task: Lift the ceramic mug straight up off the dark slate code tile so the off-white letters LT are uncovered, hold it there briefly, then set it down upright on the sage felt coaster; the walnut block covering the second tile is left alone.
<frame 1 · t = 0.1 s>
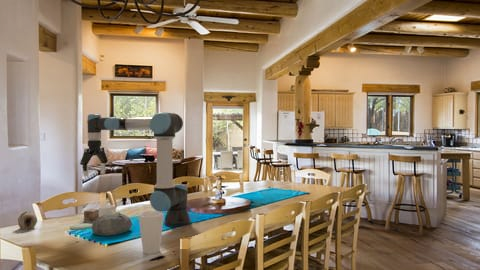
hand: (94, 175, 212), 28 cm above the table, fingers open, 13 cm apart
coaster: (81, 226, 199), on the table
code tile: (108, 225, 203), on the table
decorative stone: (112, 232, 190), on the table, touching code tile
walnut block: (91, 219, 215), resting on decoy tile
grey rounded ring: (28, 228, 197), on the table
mug: (108, 225, 203), resting on code tile
cup: (151, 251, 159), on the table
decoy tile: (91, 220, 215), on the table
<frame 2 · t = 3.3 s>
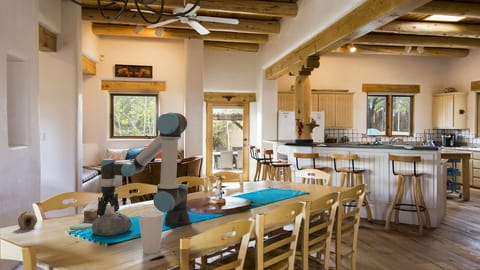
hand: (108, 224, 203), 0 cm above the table, fingers closed on mug, 9 cm apart
mug: (108, 225, 202), resting on code tile, touching gripper
everything else where it was.
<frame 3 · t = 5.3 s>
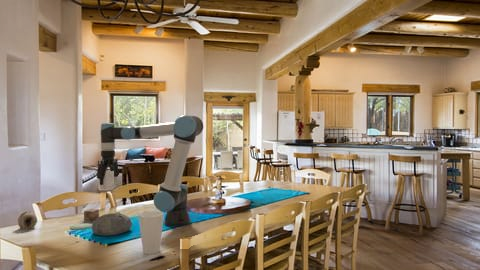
hand: (108, 189, 202), 21 cm above the table, fingers closed on mug, 9 cm apart
mug: (107, 190, 202), point 20 cm above the table, touching gripper
everything else where it was.
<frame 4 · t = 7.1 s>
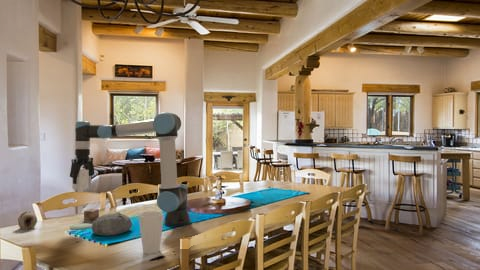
hand: (82, 188, 199), 22 cm above the table, fingers closed on mug, 9 cm apart
mug: (81, 189, 199), point 22 cm above the table, touching gripper
everything else where it was.
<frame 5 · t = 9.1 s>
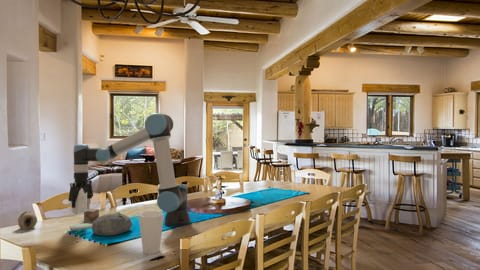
hand: (81, 211, 199), 9 cm above the table, fingers closed on mug, 9 cm apart
mug: (80, 212, 199), point 8 cm above the table, touching gripper
everything else where it was.
when the fingers open (2 cm above the table, at t = 10.7 s): mug drops 2 cm, resting on coaster.
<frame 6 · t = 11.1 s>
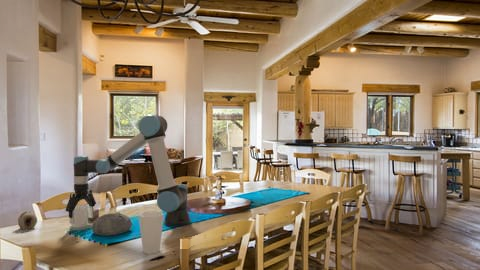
hand: (81, 220, 199), 4 cm above the table, fingers open, 13 cm apart
mug: (81, 226, 199), resting on coaster
everything else where it was.
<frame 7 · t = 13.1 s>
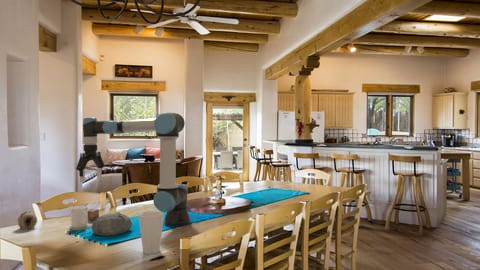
hand: (91, 180, 205), 26 cm above the table, fingers open, 13 cm apart
nothing on the table moved.
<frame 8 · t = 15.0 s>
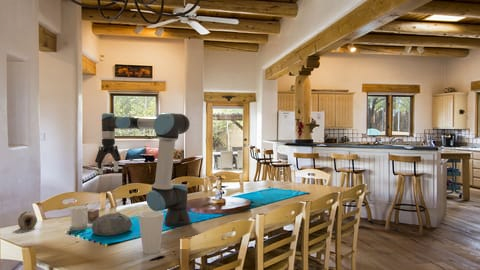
hand: (108, 172, 217), 29 cm above the table, fingers open, 13 cm apart
nothing on the table moved.
at the end: mug inside the target area on the coaster (0.4 cm from its centre), point 0.2 cm above the coaster's base; mug tilted 0°; walnut block moved 0.0 cm from its start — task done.
